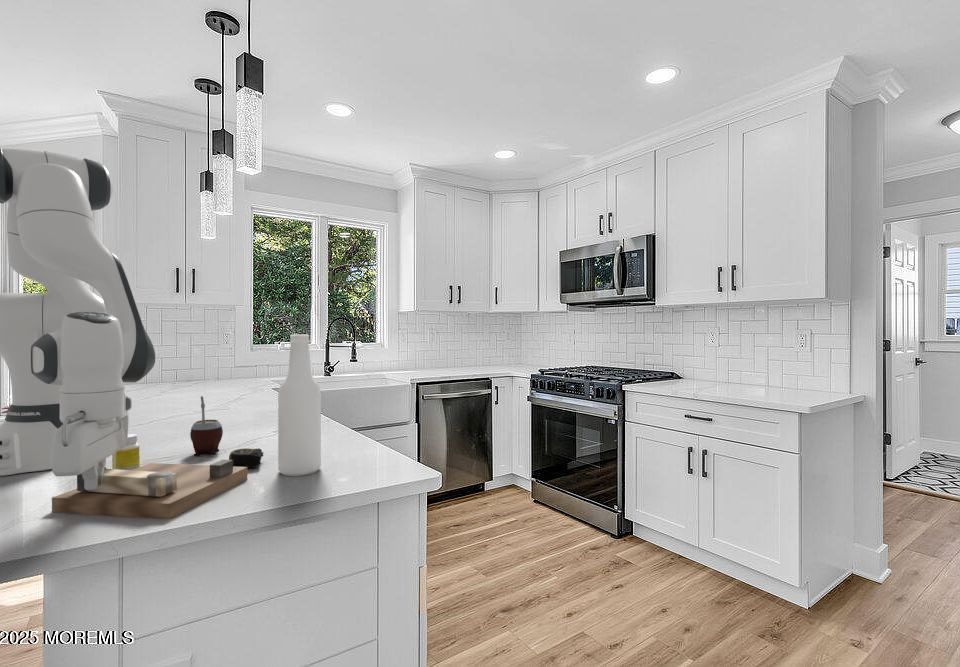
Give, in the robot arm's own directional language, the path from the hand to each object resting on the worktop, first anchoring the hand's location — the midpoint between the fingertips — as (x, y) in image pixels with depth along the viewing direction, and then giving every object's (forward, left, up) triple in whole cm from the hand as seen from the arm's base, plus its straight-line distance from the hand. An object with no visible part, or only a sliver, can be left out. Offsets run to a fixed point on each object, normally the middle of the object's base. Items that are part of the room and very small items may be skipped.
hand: (93, 487), depth 87 cm
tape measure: (+10, +30, -4) cm, 32 cm away
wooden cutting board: (+4, +10, -4) cm, 11 cm away
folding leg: (+4, +3, -1) cm, 5 cm away
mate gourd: (-7, +39, -4) cm, 39 cm away
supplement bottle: (-12, +20, -4) cm, 23 cm away
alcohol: (+23, +28, -4) cm, 36 cm away
